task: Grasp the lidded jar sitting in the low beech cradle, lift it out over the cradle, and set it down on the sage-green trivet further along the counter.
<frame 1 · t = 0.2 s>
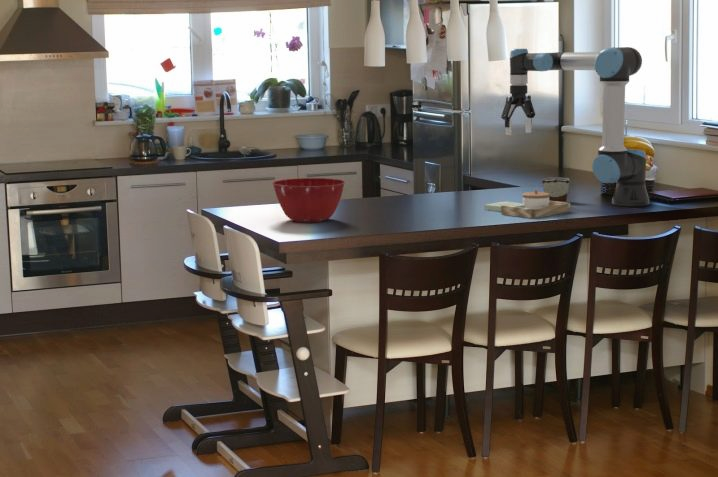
hand: (518, 133, 504), 28 cm above the worktop, fingers open, 13 cm apart
trivet: (506, 209, 475), on the worktop
mixing bowl: (310, 220, 456), on the worktop
lidded jar: (535, 213, 465), resting in cradle
food container: (555, 201, 495), on the worktop
cradle: (535, 212, 464), on the worktop
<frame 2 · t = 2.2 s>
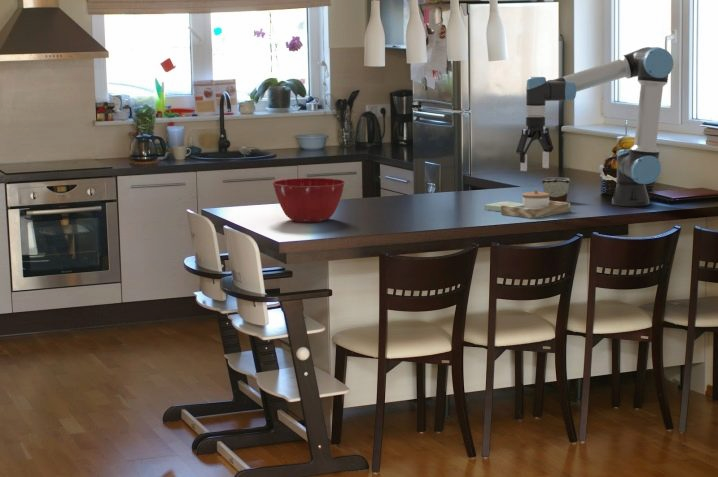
hand: (534, 169, 463), 17 cm above the worktop, fingers open, 13 cm apart
nothing on the worktop moved.
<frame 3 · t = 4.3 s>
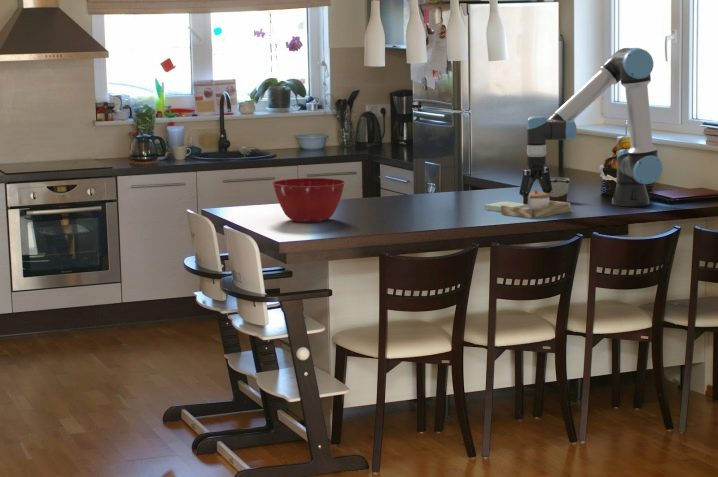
hand: (535, 210, 464), 1 cm above the worktop, fingers closed on lidded jar, 11 cm apart
lidded jar: (535, 213, 464), resting in cradle, touching gripper
everything else where it was.
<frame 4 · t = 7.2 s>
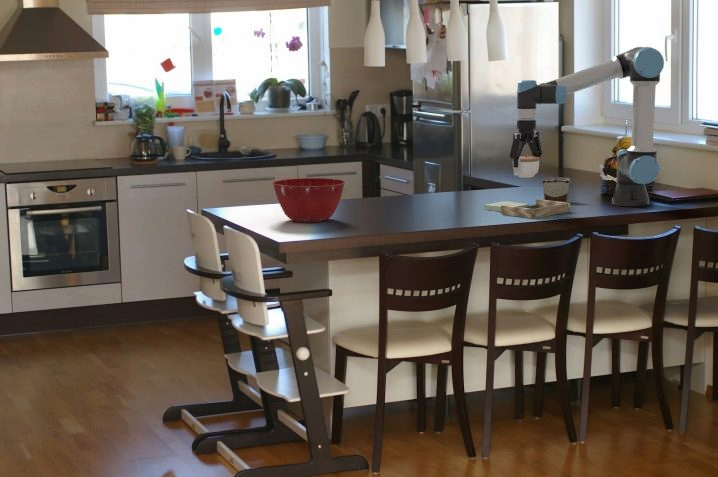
hand: (525, 174, 465), 15 cm above the worktop, fingers closed on lidded jar, 11 cm apart
lidded jar: (525, 177, 466), point 14 cm above the worktop, touching gripper
everything else where it was.
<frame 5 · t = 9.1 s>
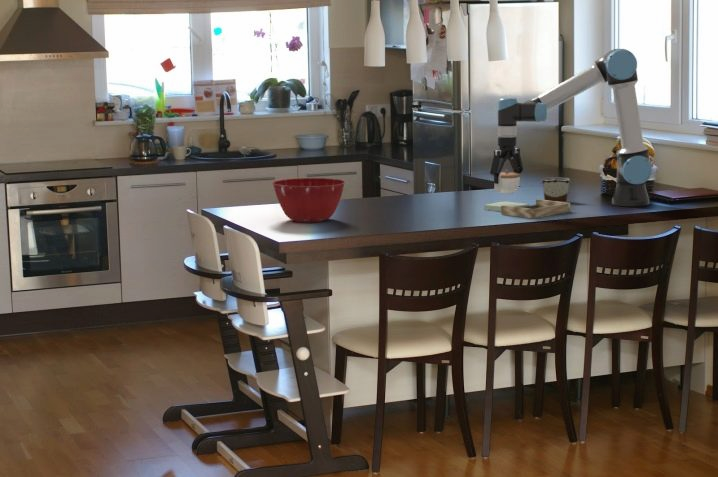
hand: (506, 190, 474), 8 cm above the worktop, fingers closed on lidded jar, 11 cm apart
lidded jar: (506, 193, 474), point 7 cm above the worktop, touching gripper
everything else where it was.
when the fingers open (4 cm above the worktop, at t = 10.3 s): lidded jar drops 1 cm, resting on trivet.
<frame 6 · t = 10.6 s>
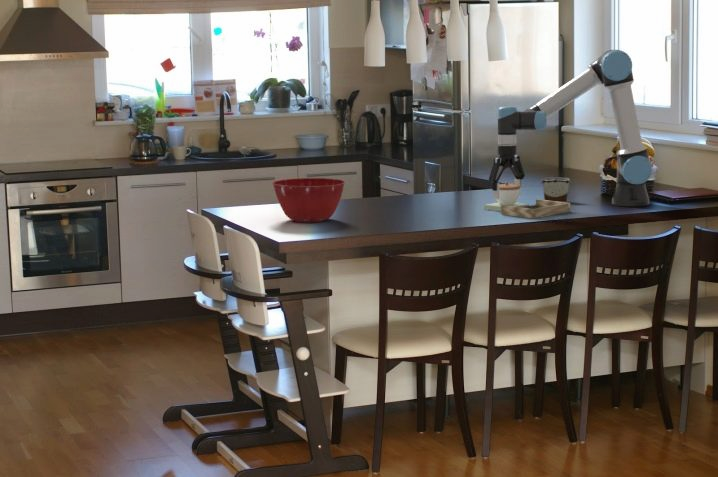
hand: (506, 196, 474), 5 cm above the worktop, fingers open, 13 cm apart
lidded jar: (506, 204, 475), point 2 cm above the worktop, touching trivet
everything else where it was.
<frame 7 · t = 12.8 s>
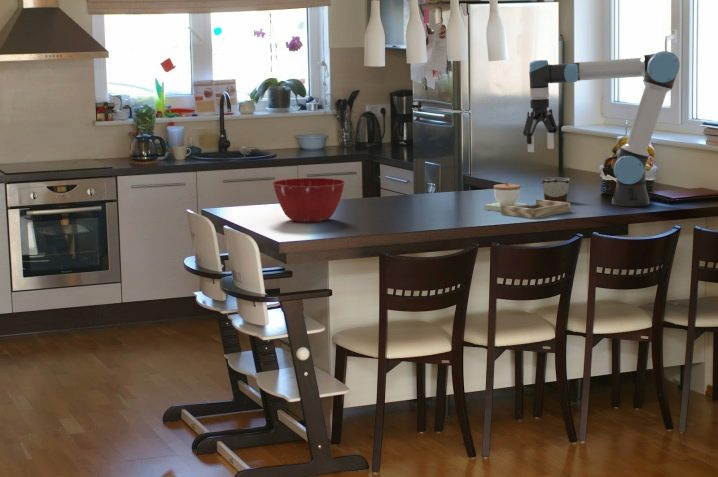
hand: (540, 150, 477), 23 cm above the worktop, fingers open, 13 cm apart
nothing on the worktop moved.
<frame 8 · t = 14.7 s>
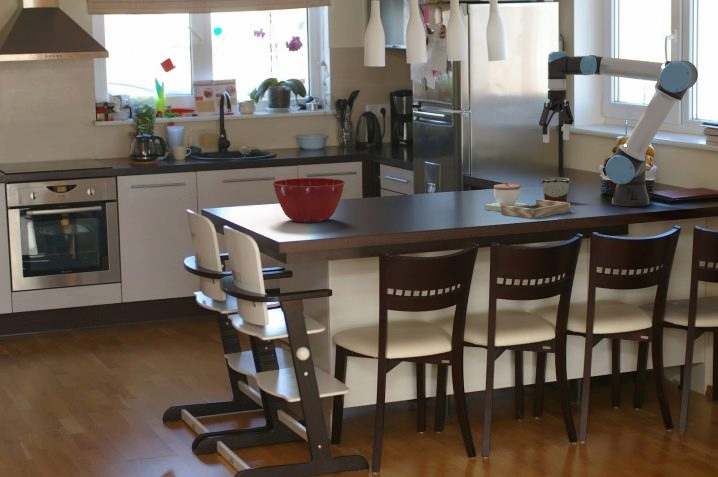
hand: (556, 141, 480), 27 cm above the worktop, fingers open, 13 cm apart
nothing on the worktop moved.
at the end: lidded jar inside the target area on the trivet (0.1 cm from its centre), point 1.8 cm above the trivet's base; lidded jar tilted 0°; the gripper is holding nothing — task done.
